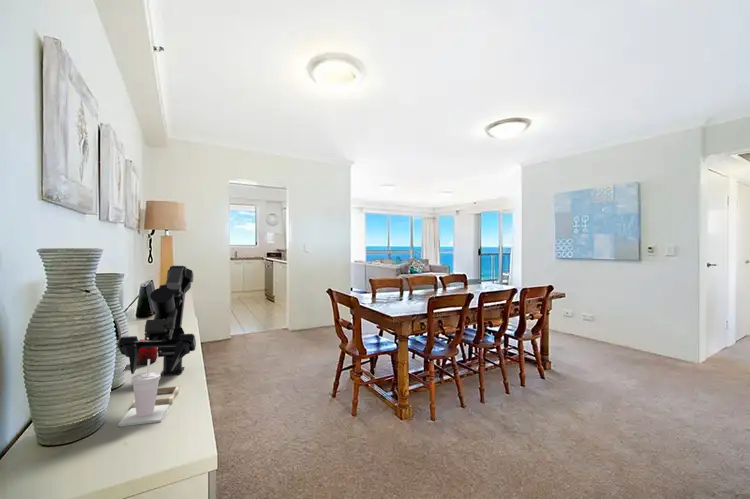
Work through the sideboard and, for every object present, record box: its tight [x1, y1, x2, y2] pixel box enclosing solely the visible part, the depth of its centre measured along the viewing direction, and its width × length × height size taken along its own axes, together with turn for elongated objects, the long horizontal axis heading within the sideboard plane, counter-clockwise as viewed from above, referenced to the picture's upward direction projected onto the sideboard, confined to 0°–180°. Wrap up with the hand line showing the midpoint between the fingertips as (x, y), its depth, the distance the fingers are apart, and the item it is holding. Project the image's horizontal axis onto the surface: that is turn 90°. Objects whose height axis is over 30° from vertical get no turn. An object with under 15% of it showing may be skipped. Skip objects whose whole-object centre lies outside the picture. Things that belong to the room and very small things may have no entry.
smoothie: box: [131, 359, 162, 417], centre depth 90 cm, size 6×6×14 cm
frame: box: [131, 385, 181, 408], centre depth 100 cm, size 10×10×2 cm
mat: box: [117, 404, 171, 427], centre depth 89 cm, size 9×9×1 cm
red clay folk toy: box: [137, 324, 158, 365], centre depth 131 cm, size 8×7×15 cm
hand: (151, 371), depth 94 cm, fingers open, 9 cm apart
